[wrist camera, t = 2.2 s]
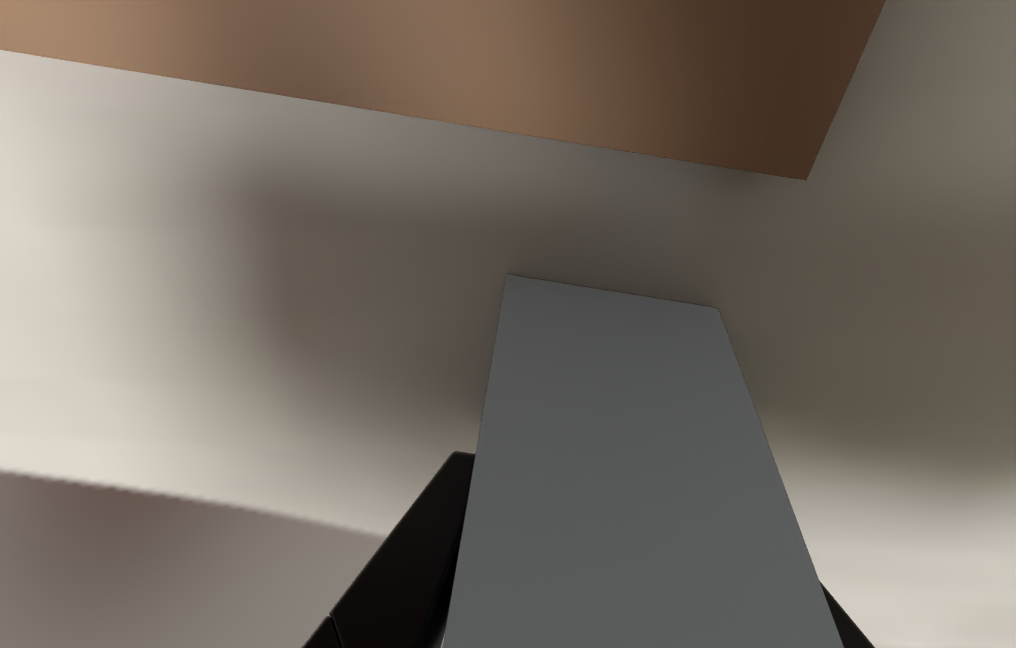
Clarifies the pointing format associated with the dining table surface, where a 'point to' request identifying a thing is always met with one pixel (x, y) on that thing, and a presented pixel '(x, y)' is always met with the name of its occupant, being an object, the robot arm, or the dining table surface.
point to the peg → (626, 488)
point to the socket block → (504, 63)
